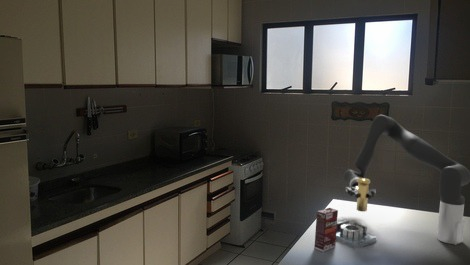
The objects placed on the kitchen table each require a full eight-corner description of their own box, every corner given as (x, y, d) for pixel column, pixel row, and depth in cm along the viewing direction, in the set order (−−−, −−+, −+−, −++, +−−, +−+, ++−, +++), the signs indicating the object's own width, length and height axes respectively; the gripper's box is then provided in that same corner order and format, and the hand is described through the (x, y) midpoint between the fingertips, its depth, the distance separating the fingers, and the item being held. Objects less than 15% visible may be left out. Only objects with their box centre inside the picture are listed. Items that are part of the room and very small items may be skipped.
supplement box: (323, 252, 162) (325, 214, 160) (313, 248, 165) (315, 211, 163) (336, 247, 167) (338, 210, 165) (326, 243, 171) (328, 207, 169)
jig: (376, 241, 174) (376, 230, 173) (357, 248, 166) (358, 237, 166) (345, 230, 187) (346, 219, 186) (327, 236, 179) (327, 225, 178)
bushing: (370, 210, 182) (372, 180, 180) (363, 212, 178) (365, 181, 176) (360, 207, 186) (362, 177, 184) (352, 209, 183) (354, 179, 181)
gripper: (343, 177, 196) (347, 187, 179) (374, 179, 194) (381, 189, 177) (342, 193, 197) (346, 203, 180) (373, 194, 195) (379, 206, 178)
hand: (363, 196), depth 179 cm, fingers closed on bushing, 4 cm apart
